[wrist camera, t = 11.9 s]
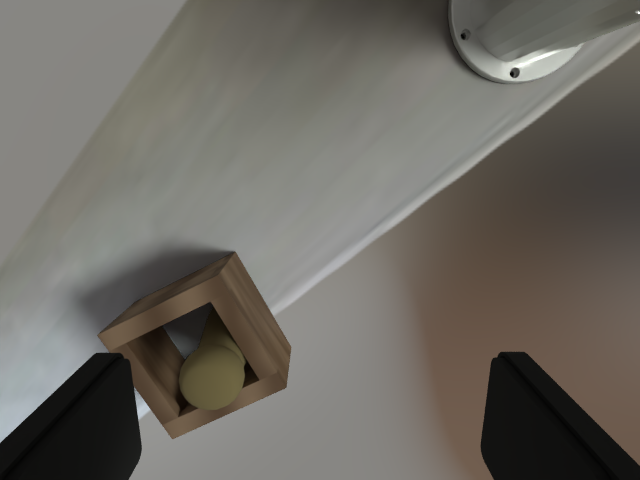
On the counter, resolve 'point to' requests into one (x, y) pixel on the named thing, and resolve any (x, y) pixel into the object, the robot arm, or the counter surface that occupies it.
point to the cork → (213, 368)
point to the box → (166, 361)
